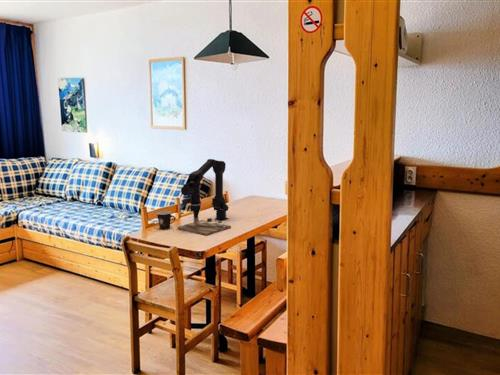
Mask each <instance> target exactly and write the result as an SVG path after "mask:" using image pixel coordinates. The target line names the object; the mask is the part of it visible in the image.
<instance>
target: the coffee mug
mask: <svg viewBox="0 0 500 375" xmlns="http://www.w3.org/2000/svg"><path fill="white" fill-rule="evenodd" d="M156 216H157V219H158V220H157V221H158V225H159V230H163V231H165V230H169V229H171V225H172V224H173V223H174V222H175V220H176V217H175V216H174V215H172V212H171V211H169V210H168V211H166V210H165V211H159V212H157V213H156ZM172 217H173V220H172V219H171V218H172ZM171 220H172V221H171Z"/></svg>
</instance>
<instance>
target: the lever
mask: <svg viewBox="0 0 500 375" xmlns="http://www.w3.org/2000/svg"><path fill="white" fill-rule="evenodd" d="M192 212H193V211H192ZM193 222H195V224H196V225H213V226H218V227H222V226H224V224H225V222H224V221H223V220H217V222H216V221H212V222H203V221H200V220H199V216H198V217H197V219H195V216H194V212H193Z"/></svg>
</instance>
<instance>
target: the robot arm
mask: <svg viewBox="0 0 500 375" xmlns="http://www.w3.org/2000/svg"><path fill="white" fill-rule="evenodd" d="M210 169H212V171H213V173H214V174H215V175H214V176H215V177H214V180H215V182H214V184H215V185H214V186H215V188H214V189H215V190H214V191H215V192H214V198H212V199H211V201H212V202H211V203H212V204H211V205H212V208H213V210H214V211H215V212H216V213H215V215H216V216H215V217H214V219H215V220H217V219H218V220H217V221H224V220H228V219H229V217H227V211H228V210H229V206H228V204H227V203H226V199H225V197H224V192H223V191H224V188H223V187H224V186H223V185H224V184H223V183H224V179H223V178H224V173H225V171H226V162H225V161H223V160H217V159H214V158H208V159H206V161H205V163H203V165H201V166H200V167H199V168H198V169H197V170H195V171H192V172H190V173H189V175H188V177H187V179H186V181H185V183H184V184H182V187H181V189H180V193H181V194H182V196H189V195H190V196H189V197H186V198H183V199H182V200H181V204H182V205H183V206H184V207H185V206H186V205H188V204H190V205H189V210H192V212H194V215H193V217H194V216H195V219H197V217H198V218H199V214H200V210H201V205H202V200H201V186H203V183H201V181H203V179H204V176H205V175H206V173H207V172H209V170H210Z"/></svg>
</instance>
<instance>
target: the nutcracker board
mask: <svg viewBox="0 0 500 375" xmlns="http://www.w3.org/2000/svg"><path fill="white" fill-rule="evenodd" d="M206 219H207V220H204V219H203V220H202V219H201V220H199V221H203V222H213V219H212V218H210V217H209V218H206ZM231 228H232V226H231V225H229V224H225V223H224V226H222V227H218V226H213V225H196V224H195V222H194V221H193V222H191V223H186V224H183V225H180V226H177V230H180V231H184V232H189V233H193V234H197V235H200V236H201V235H202V236H206V237H207V236H212V235H214V234H216V233H220V232H223V231H227V230H229V229H231Z"/></svg>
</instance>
